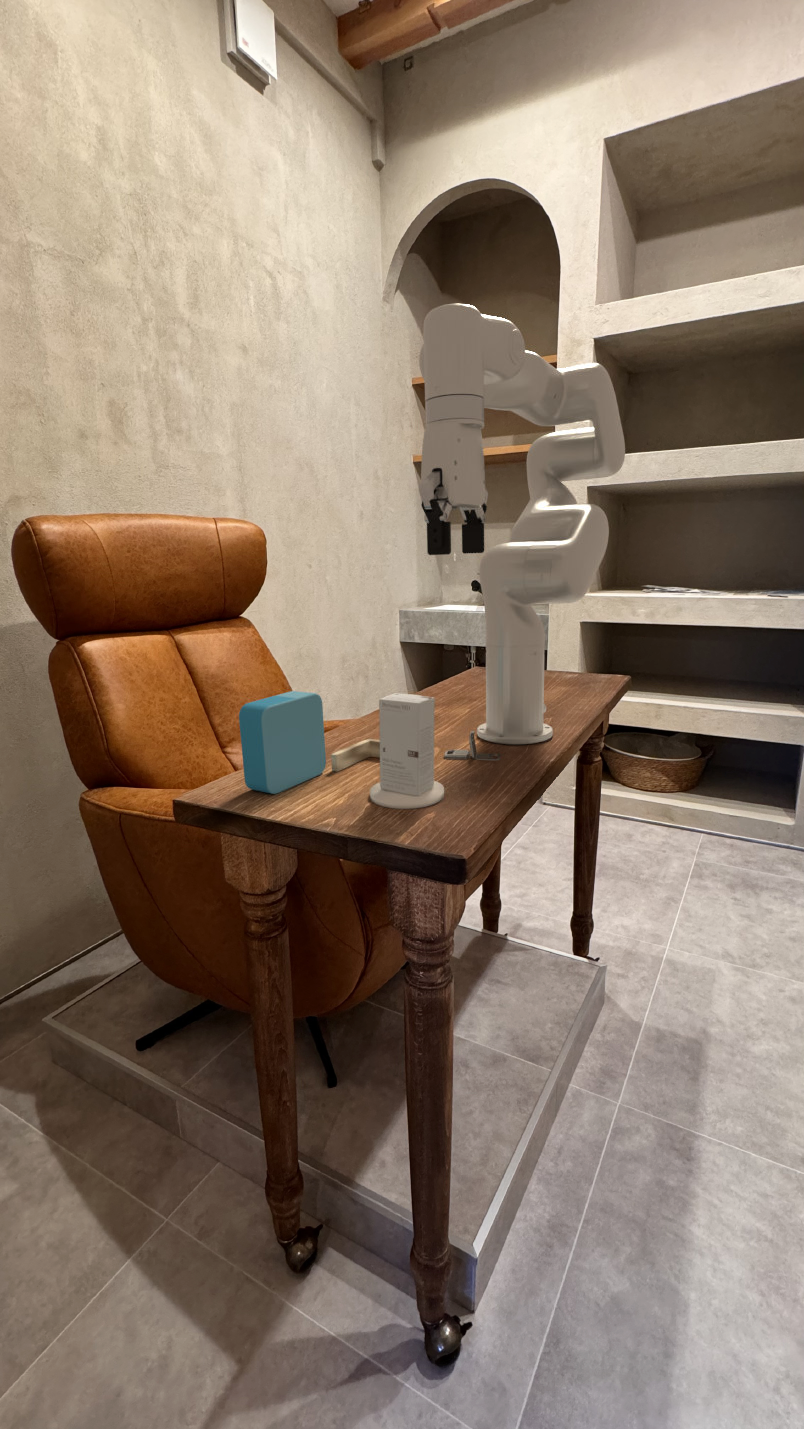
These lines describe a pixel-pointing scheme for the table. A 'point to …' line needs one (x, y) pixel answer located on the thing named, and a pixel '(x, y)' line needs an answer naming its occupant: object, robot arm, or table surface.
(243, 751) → the data package
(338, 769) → the stand
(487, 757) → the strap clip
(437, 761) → the table surface
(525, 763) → the table surface
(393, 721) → the skincare box
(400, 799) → the ceramic coaster
